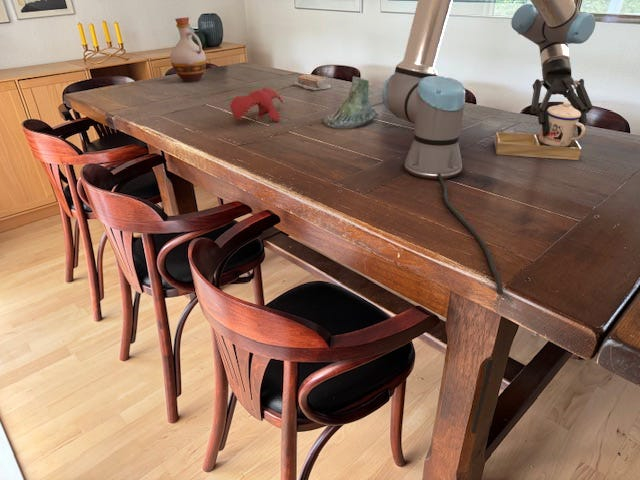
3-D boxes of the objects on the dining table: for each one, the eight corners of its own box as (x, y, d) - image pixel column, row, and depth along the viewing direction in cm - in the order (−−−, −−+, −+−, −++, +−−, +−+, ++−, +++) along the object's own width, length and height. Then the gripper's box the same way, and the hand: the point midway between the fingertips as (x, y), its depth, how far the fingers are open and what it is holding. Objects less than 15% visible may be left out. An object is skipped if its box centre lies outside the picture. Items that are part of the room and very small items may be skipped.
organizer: (578, 160, 128) (581, 148, 126) (496, 154, 133) (498, 143, 132) (570, 147, 137) (573, 136, 136) (494, 142, 143) (496, 131, 141)
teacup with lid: (531, 139, 134) (542, 100, 127) (549, 132, 138) (562, 94, 132) (568, 154, 126) (583, 113, 119) (586, 146, 130) (602, 107, 124)
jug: (218, 79, 239) (210, 16, 224) (193, 85, 226) (183, 19, 211) (192, 76, 249) (182, 15, 233) (166, 82, 236) (155, 18, 220)
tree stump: (314, 119, 171) (323, 69, 164) (360, 126, 179) (371, 79, 172) (333, 130, 155) (344, 75, 149) (382, 136, 163) (395, 85, 157)
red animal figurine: (289, 122, 182) (266, 91, 181) (302, 108, 175) (279, 76, 174) (244, 142, 161) (218, 107, 160) (258, 127, 155) (231, 91, 154)
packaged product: (331, 77, 213) (313, 80, 208) (331, 88, 215) (313, 91, 211) (310, 72, 226) (293, 74, 221) (310, 82, 228) (293, 85, 224)
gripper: (587, 72, 137) (596, 140, 131) (513, 73, 138) (519, 140, 132) (600, 56, 129) (611, 127, 124) (522, 57, 131) (529, 127, 125)
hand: (564, 133), depth 128 cm, fingers closed on teacup with lid, 9 cm apart
